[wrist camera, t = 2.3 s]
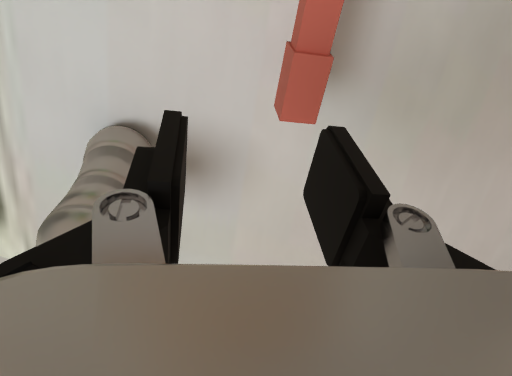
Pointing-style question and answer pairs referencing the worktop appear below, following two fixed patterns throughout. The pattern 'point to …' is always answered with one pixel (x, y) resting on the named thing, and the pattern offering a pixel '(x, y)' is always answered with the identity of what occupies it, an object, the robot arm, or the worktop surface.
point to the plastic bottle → (94, 179)
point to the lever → (307, 61)
